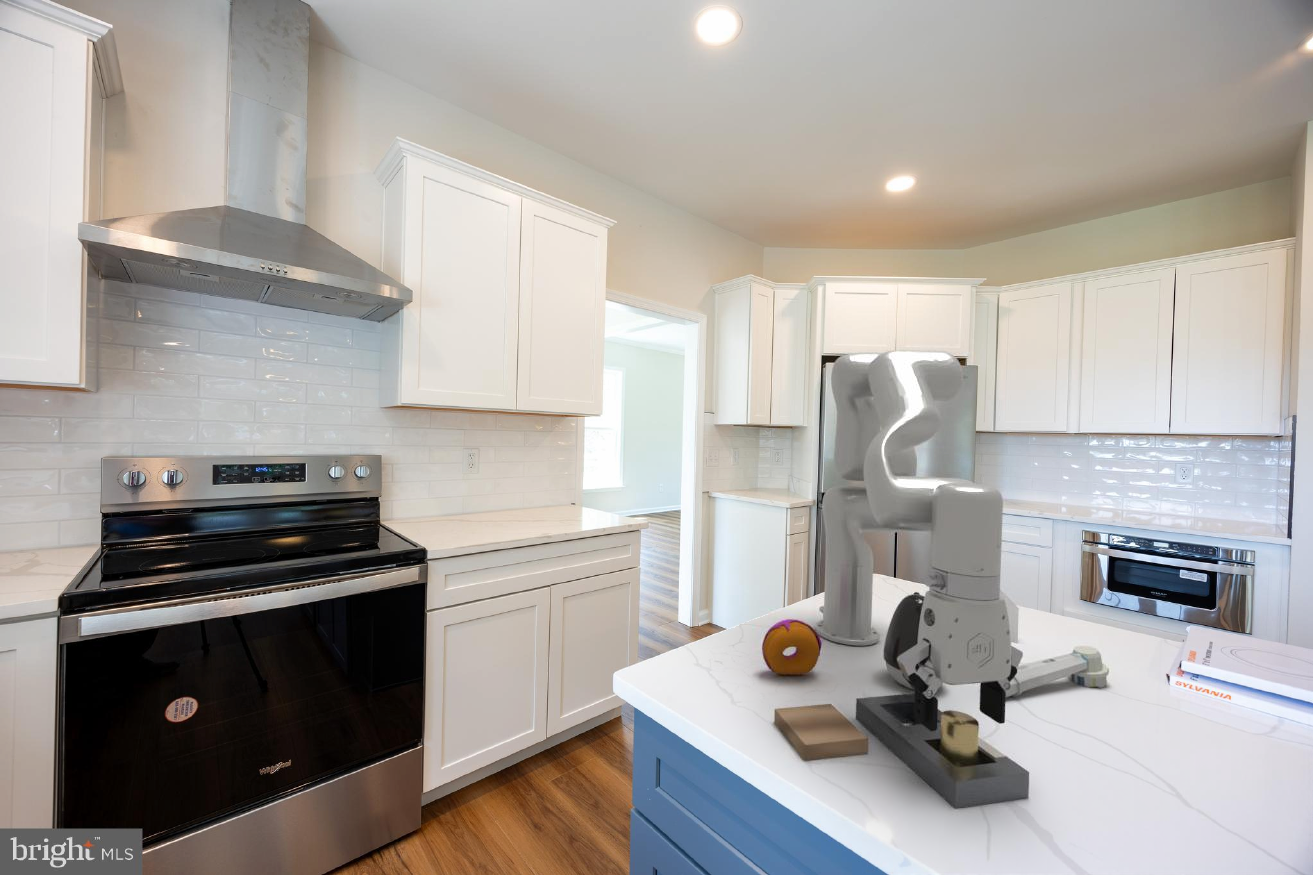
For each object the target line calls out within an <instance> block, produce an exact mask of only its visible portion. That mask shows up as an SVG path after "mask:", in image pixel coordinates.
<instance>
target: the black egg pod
mask: <svg viewBox="0 0 1313 875" xmlns="http://www.w3.org/2000/svg"><path fill="white" fill-rule="evenodd" d="M924 598H925V595H922V594H920V592H918V591H914V593H912V594H909V595H906V596H905V597H903V598H902V599H901V601H900V602H899V603H898V605H897V607H896V608H895V610H894V612H893V614H892V617H891V620H890V623H889V626H888V629H887V632H886V636H885V641H884V646H883V653H882V654H883V657H882V658H883V660H884V661H885V666H886V668H887V671H888V673H889V674H890V676H891V677H892V678H893V679H894V680H895V681H896V682H897V683H898V684H899V685H902V686H904V687H905V688H907V689H910V690H914V691H915V689H914V688H912V687H911V686H910V684H909V683H908V682H907V680H906V679H905V678H904V677H903V672H902V671H901V669H900V666H899V664H898V662H897V658H898V656H900V655H901V654H903V653H904V652H906V651H907V650H909V649H910V648H912V647H913V646H915V645H917V643H918V631H919V623H920V616H921V610H922V606H923V601H924ZM919 668H920V667H919V665H918V663H917V664H916V666H915V669H916V672H917V671H918V669H919ZM931 677H932V676H931V675H930V674H929V675H928V677H927V678H926V680H925V681H924V682H925V683H926V684H927V683H928V681H929V680H930V679H931ZM943 684H945V683H944V682H943V683H942V684H941V686H942V685H943Z"/></svg>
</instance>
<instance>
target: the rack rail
mask: <svg viewBox="0 0 1313 875" xmlns="http://www.w3.org/2000/svg"><path fill="white" fill-rule="evenodd" d="M914 696H915V692H914V693H913V692H912V693H902V694H891V695H880V696H870V697H858V698H855V719H856V720H857V721H858V723H860V724H861V725H862V726H863V727H864V728H865V729H866V730H867V731H869V733H870V734H872V735H873V736H875V738H876V739H878V740H879V741H880V742H881V743H882V744H883V746H885V747H886V748H887V749H889V750H890V751H891V752H892V753H893V755H895V756H897V757H898V758H899V759H900V760H901V761H902V763H904V764H905V765H906V766H907V767H908V768H909V769H911V770H912V771H913V772H914V773H915V774H916V775H918V776H919V777H920V778H921V779H922V780H923V781H924V782H925V783H926V784H927V785H929V787H931V788H932V789H933V790H934V791H935V792H936V793H938V794H939V795H940V797H941V798H943V799H944V800H945V801H946V802H948V804H949V805H951V807H953V808H954V809H962V808H969V807H975V806H976V807H977V806H983V805H987V804H988V805H989V804H996V803H1004V802H1010V801H1016V800H1024V799H1029V795H1030V794H1029V793H1030V792H1029V789H1030V771H1028V770H1027V769H1025V768H1024V767H1022V766H1021V765H1020V764H1018V763H1017V762H1015V761H1014V760H1012V759H1011V758H1009V757H1008V756H1007V755H1005V754H1004V753H1002V752H1001V751H999V750H998V749H996V747H994V746H992V745H991V744H989V743H987V741H985V740H983V739H982V738H981V737H980V736H978V765H974V766H966V767H958V768H957V767H956V766H955V765H954V764H952V763H951V762H950V761H949V760H947V759H946V758H945V757H944V756H942V755H941V754H940V744H941V714H942V712H943V711H942V710H940V709H939V708H938V718H937V729H936V731H930V730H929V729H927V728H926V727H925V726H924V725H922V724H921V723H920V722H918V721H917V720H916V719H915V717H914ZM905 723H912V724H911V725H905Z"/></svg>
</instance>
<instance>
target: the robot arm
mask: <svg viewBox="0 0 1313 875" xmlns="http://www.w3.org/2000/svg"><path fill="white" fill-rule="evenodd" d="M963 382H964V370H963V368H962V365H961V363H960V361H959V360H958V358H957V357H955V355H954V354H952V353H950V352H948V351H944V350H920V349H919V350H913V349H911V350H910V349H897V350H887V351H885V352H854V353H853V352H852V353H848V354H844V355H841V356H839V357H838V358H836V360H835V361H834V363H833V365H832V369H831V376H830V385H831V391H832V395H833V399H834V402H835V407H836V424H835V425H836V427H835V428H836V429H835V439H834V452H833V468H834V472H835V474H836V475H837V477H838V478H841V479H842V480H845V481H852V482H853V481H855V482H864V485H850V484H849V485H848V484H847V485H846V484H844V485H837V486H833V487H831V488H829V489H828V490H827V491H825V493H824V495H823V498H822V513H823V522H824V531H825V565H824V566H825V567H824V570H825V571H824V595H823V596H824V599H823V600H824V601H823V606H822V605H821V606H820V607H819V609H818V611H819V612H820V613H822V620H821V621H818V622H817V623H816V624H815V632H816V633H817V635H818V636H819V637H821V638H823V639H826V640H828V641H831V642H834V643H838V644H843V645H846V646H847V645H848V646H858V647H860V646H862V647H863V646H871V645H874V644H876V643H878V642H879V640H880V633H879V631H878V630H876V629H875V628H874V627H872V618H873V617H872V615H873V614H872V612H873V587H874V586H873V583H874V581H873V580H874V554H873V550H872V548H871V546H870V544H868V542H867V540H865V538H864V537H863V536H862V533H868V532H869V533H870V532H871V533H873V532H875V533H899V532H903V531H911V532H930V533H931V534H930V558H929V560H930V561H929V564H930V565H929V575H925V576H924V580H923V582H924V585H925V586H926V587H928V588H929V590H927V591H925V594H924V597H925V598H924V601H923V606H922V610H921V616H920V623H919V631H918V643H917V645H915V646H913V647H912V648H910V649H909V650H907V651H906V652H904V653H903V654H901V655H900V656H898V658H897V662H898V664H899V666H900V669H901V671H902V672H903V677H904V678H905V679H906V680H907V682H908V683H909V684H910V686H911V687H912V688H914V689H915V690H914V693H915V696H914V717H915V719H916V720H917V721H918V722H920V723H921V724H922V725H924V726H925V727H926V728H927V729H929V730H930V731H936V729H937V718H938V709H939V699H938V698H937V697H936V696H934V695H935V694H936V693H937V691H938V690H939V688H940V687H941V686H942V685H943V684H945V685H949V686H958V685H959V686H961V685H973V684H980V685H979V711H980V712H981V713H982V714H983V715H984V716H987V717H988V718H989V719H991V720H993V722H996V723H998V724H1000V725H1001V724H1005V721H1006V692H1005V691H1008V690H1009V689H1010V688H1011V684H1010V681H1011V680H1012V679H1013V678H1014V676H1015V675H1016V674H1017V668H1016V667H1018V666H1019V665H1020V662H1021V660H1022V659H1023V657H1024V656H1023V655H1024V653H1023V651H1021V650H1020V649H1018V648H1016V647H1015V646H1013V645H1012V642H1011V638H1010V626H1009V618H1008V612H1007V607H1006V603H1005V600H1004V598H1003V597H1001V596H1000V590H1001V572H1002V571H1001V567H1002V566H1001V565H1002V544H1003V543H1002V542H1003V541H1002V539H1003V537H1002V536H1003V516H1004V515H1003V514H1004V513H1003V510H1004V507H1003V506H1004V501H1003V496H1002V493H1001V491H1000V490H998V488H995V487H993V486H990V485H985V484H976V483H974V482H973V481H971V480H968V479H963V478H956V477H934V476H917V468H918V459H917V453H916V452H917V451H916V448H915V447H918V446H919V445H922V444H924V443H926V442H927V441H929V440H930V439H932V438H934V436H935V435H936V434H937V433H938V432H939V431H940V428H941V425H942V416H941V413H940V411H939V409H938V407H937V406H938V405H937V403H936V402H946V401H951V400H953V399H954V398H956V397H957V396H958V394H959V393H960V391H961V389H962V387H963ZM917 663H918V665H919V667H920V668H919V669H918V671H917V672H916V669H915V666H916V664H917ZM929 674H930V675H931V676H932V677H931V679H930V680H929V681H928V683H927V684H926V683H925V682H924V681H925V680H926V678H927V677H928V675H929ZM943 682H944V683H943ZM942 683H943V684H942ZM941 684H942V685H941Z"/></svg>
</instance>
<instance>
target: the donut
mask: <svg viewBox="0 0 1313 875" xmlns="http://www.w3.org/2000/svg"><path fill="white" fill-rule="evenodd" d="M820 637H821V636H820V635H819V634H818V633H817V632H816V629H814V628H813V627H812V626H811V625H810V624H808V623H807V622H804V621H802V620H800V619H799V620H798V619H795V618H790V619H789V618H788V619H784V620H783V619H782V620H781V621H779V622H776V623H775V624H774V625H772V626H771V627H770V628H769V629H768V630H767V632H766V634H765V635H764V637H763V641H762V646H761V649H762V650H761V651H762V657H763V660H764V663H765V665H766V666H767V668H768V670H771V672H773V673H776V674H778V675H784V676H785V675H788V676H790V675H800V676H801V675H807V674H809V673H810V672H812V671H813V670H814V668H815V666H816V665H817V662H818V660H819V657H820V655H821V648H822V644H823V642H822V639H821V638H820ZM789 648H796V649H795V651H794V652H793V653H792V654H789V655H786V654H784V652H785V651H786V649H789Z"/></svg>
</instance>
